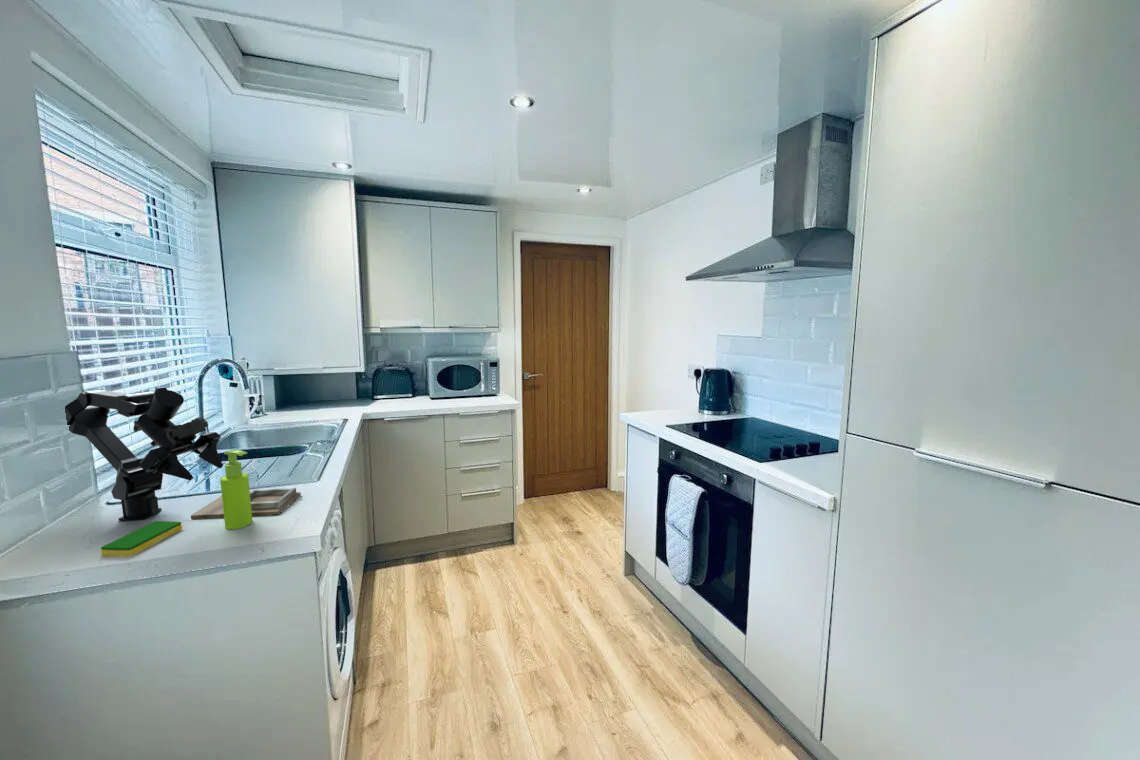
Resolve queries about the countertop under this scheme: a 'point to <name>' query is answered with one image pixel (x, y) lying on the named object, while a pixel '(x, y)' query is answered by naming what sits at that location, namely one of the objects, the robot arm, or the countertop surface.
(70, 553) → the countertop surface
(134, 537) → the dish sponge
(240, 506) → the soap dispenser
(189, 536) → the countertop surface
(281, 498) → the walnut holder board
